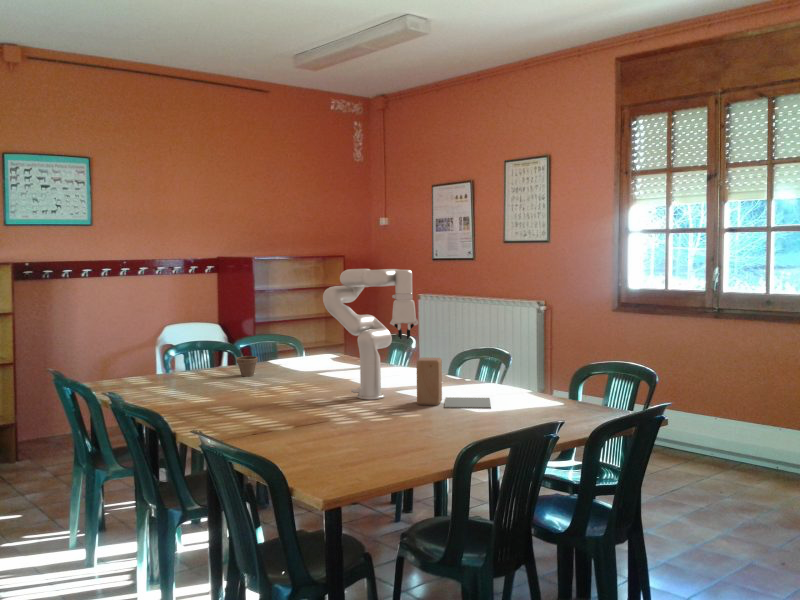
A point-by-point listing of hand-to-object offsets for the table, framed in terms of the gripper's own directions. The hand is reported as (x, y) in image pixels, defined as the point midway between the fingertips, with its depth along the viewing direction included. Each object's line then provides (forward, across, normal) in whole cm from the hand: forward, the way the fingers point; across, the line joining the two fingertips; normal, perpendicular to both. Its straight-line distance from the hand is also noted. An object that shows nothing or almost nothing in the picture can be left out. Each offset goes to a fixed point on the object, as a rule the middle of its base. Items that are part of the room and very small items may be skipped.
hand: (404, 338), depth 343 cm
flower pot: (+29, -92, +68) cm, 118 cm away
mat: (+29, +28, 0) cm, 40 cm away
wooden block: (+29, +11, 0) cm, 31 cm away
